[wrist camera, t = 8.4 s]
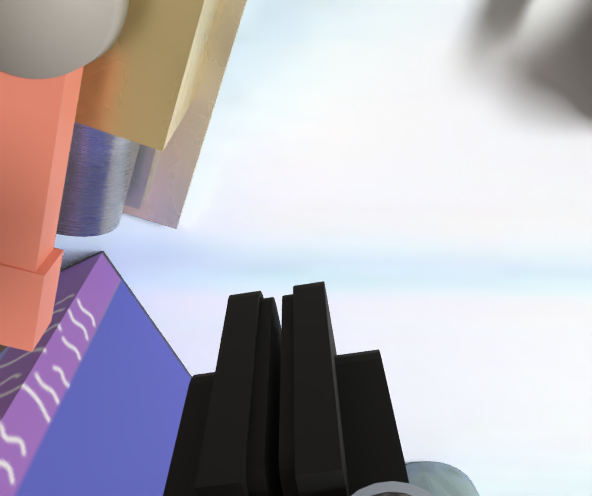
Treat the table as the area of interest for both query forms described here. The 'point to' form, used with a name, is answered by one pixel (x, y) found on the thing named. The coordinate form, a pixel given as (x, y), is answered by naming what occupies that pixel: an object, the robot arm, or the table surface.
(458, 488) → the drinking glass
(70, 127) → the lever
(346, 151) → the table surface
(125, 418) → the cereal box
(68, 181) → the valve body
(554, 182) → the table surface
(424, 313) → the table surface
